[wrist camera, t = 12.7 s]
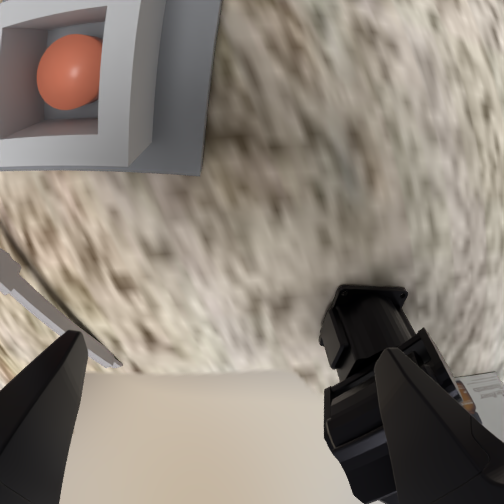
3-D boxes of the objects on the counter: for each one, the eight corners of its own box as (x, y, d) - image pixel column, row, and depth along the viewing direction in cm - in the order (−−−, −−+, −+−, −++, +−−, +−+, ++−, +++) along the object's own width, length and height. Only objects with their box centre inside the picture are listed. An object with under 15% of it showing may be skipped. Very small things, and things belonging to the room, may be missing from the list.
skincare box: (498, 368, 36) (539, 446, 23) (478, 389, 39) (513, 465, 26) (400, 379, 33) (443, 495, 20) (380, 404, 36) (413, 511, 22)
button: (119, 33, 13) (107, 30, 11) (113, 103, 15) (101, 108, 13) (55, 40, 12) (39, 40, 11) (52, 107, 14) (36, 112, 13)
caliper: (-20, 196, 18) (-67, 235, 13) (-14, 189, 18) (-63, 229, 13) (116, 364, 29) (102, 416, 23) (124, 362, 29) (111, 415, 23)
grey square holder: (226, -25, 13) (224, -63, 8) (202, 168, 19) (191, 210, 14) (15, -1, 11) (-42, -6, 6) (11, 164, 17) (-41, 199, 12)
